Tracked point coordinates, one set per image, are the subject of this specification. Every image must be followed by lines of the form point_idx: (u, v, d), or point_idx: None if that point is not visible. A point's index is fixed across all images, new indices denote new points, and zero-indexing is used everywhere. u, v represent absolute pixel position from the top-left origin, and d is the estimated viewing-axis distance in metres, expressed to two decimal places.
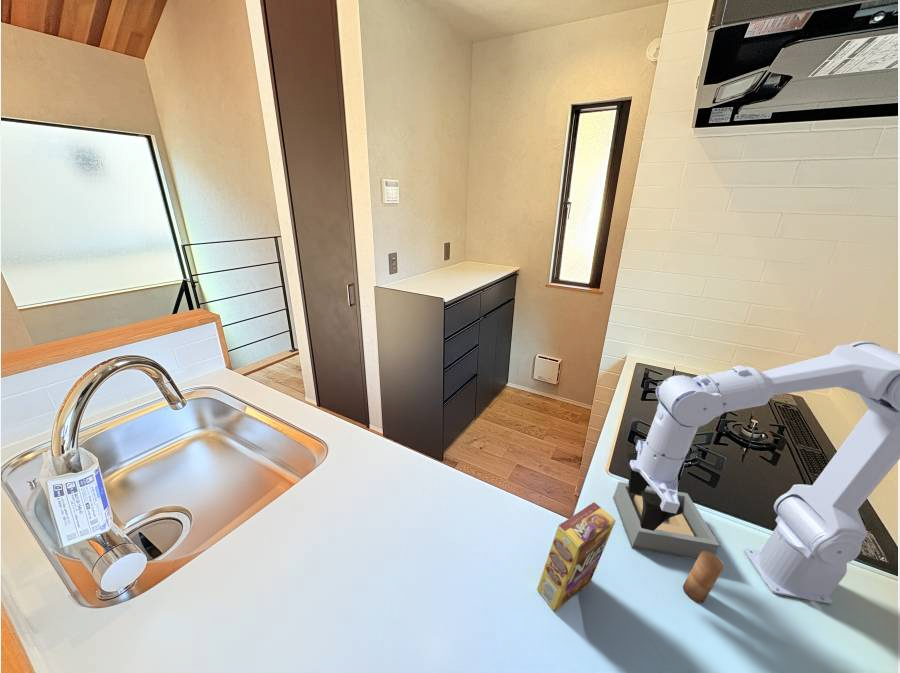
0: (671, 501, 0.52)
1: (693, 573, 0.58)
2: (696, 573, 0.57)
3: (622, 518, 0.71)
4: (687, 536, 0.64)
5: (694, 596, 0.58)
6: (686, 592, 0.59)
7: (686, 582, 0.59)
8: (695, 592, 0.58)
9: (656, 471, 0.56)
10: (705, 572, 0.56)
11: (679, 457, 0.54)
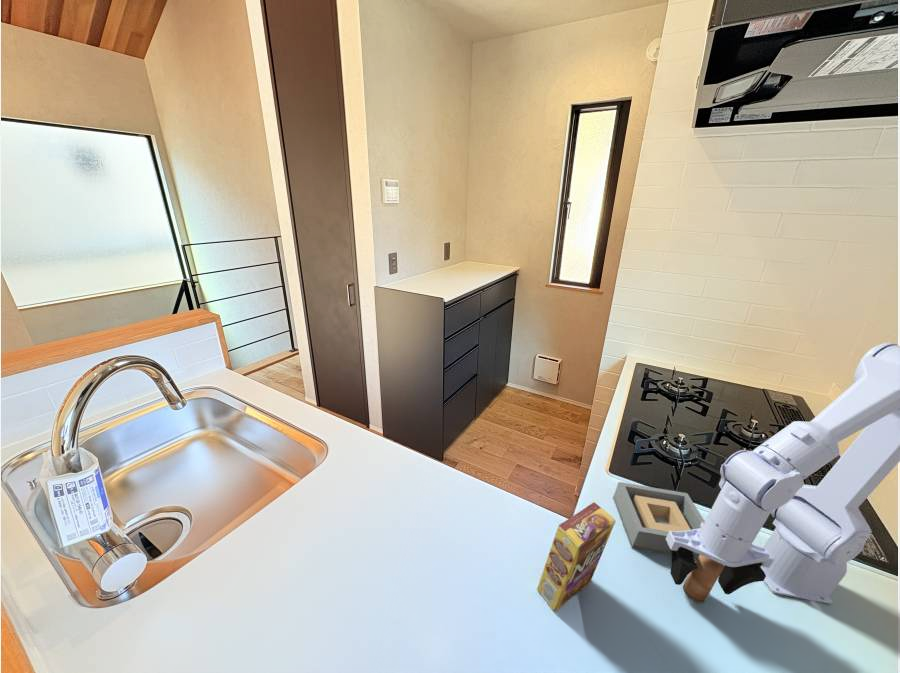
0: (673, 535, 0.56)
1: (693, 573, 0.58)
2: (696, 573, 0.57)
3: (622, 518, 0.71)
4: None
5: (694, 596, 0.58)
6: (686, 592, 0.59)
7: (686, 582, 0.59)
8: (695, 592, 0.58)
9: (702, 528, 0.56)
10: (705, 572, 0.56)
11: (754, 538, 0.51)
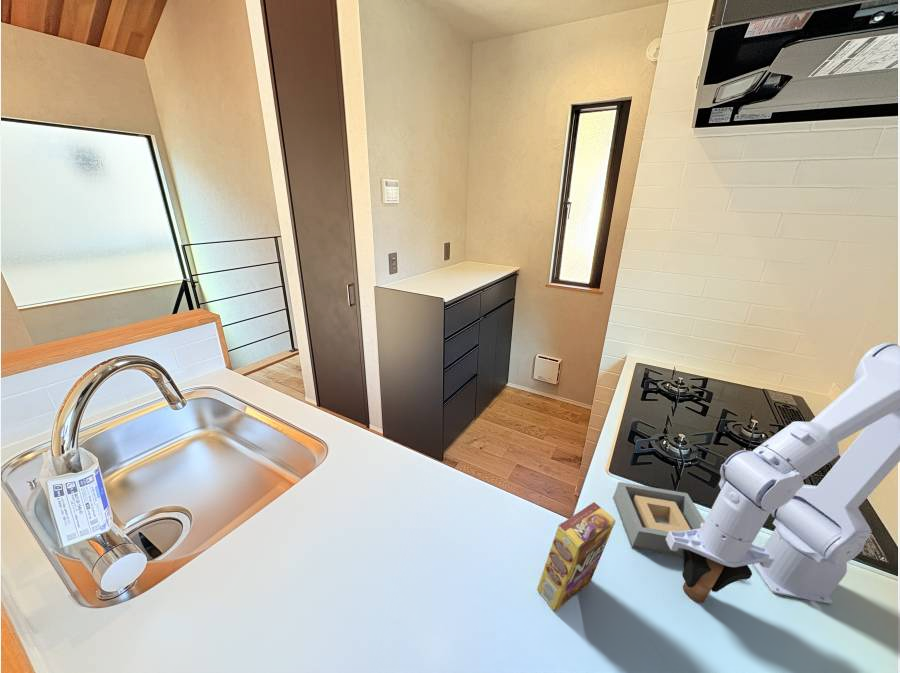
0: (673, 535, 0.56)
1: None
2: None
3: (622, 518, 0.71)
4: None
5: (694, 596, 0.58)
6: (686, 592, 0.59)
7: None
8: (695, 592, 0.58)
9: (702, 528, 0.56)
10: None
11: (754, 538, 0.51)
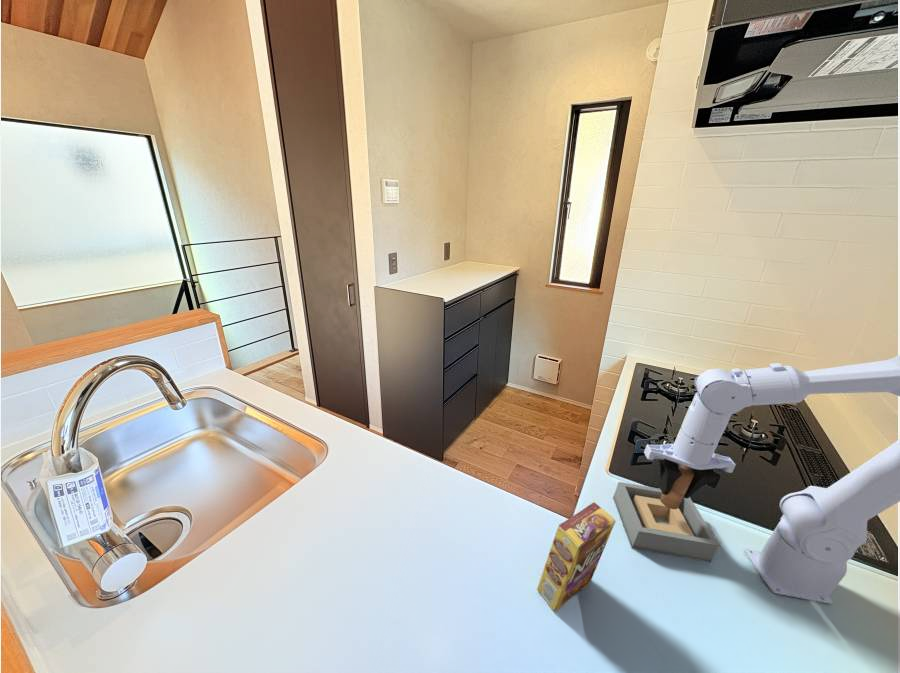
0: (650, 447, 0.64)
1: None
2: None
3: (622, 518, 0.71)
4: (687, 536, 0.64)
5: (669, 503, 0.67)
6: (662, 501, 0.68)
7: (662, 493, 0.68)
8: (670, 499, 0.66)
9: (675, 441, 0.65)
10: (678, 480, 0.65)
11: (708, 442, 0.59)
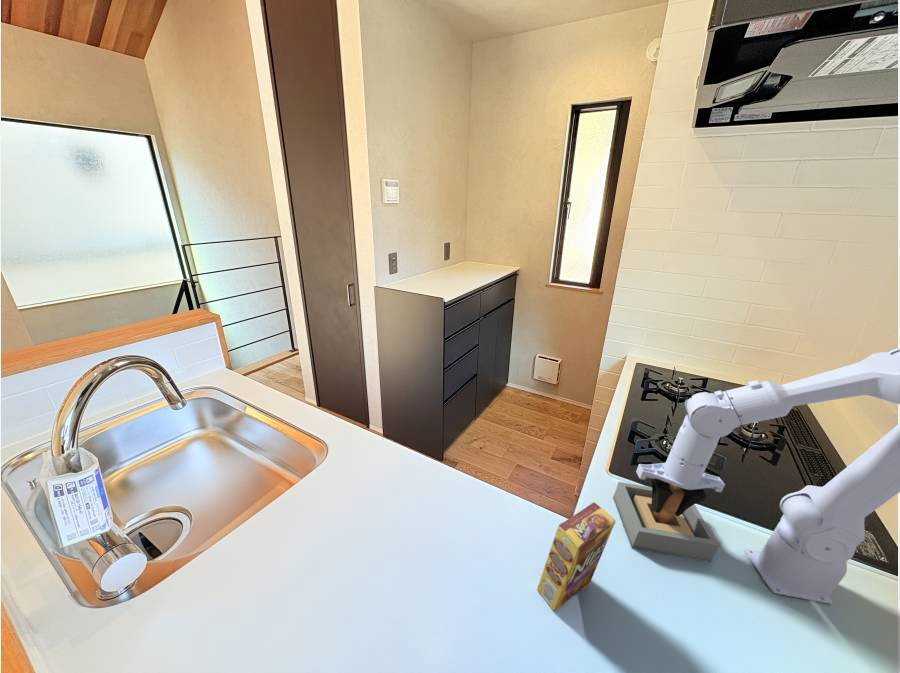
0: (641, 467, 0.66)
1: None
2: None
3: (622, 518, 0.71)
4: (687, 536, 0.64)
5: (660, 521, 0.69)
6: (654, 518, 0.70)
7: None
8: (661, 517, 0.68)
9: (666, 461, 0.67)
10: (669, 499, 0.66)
11: (697, 464, 0.61)
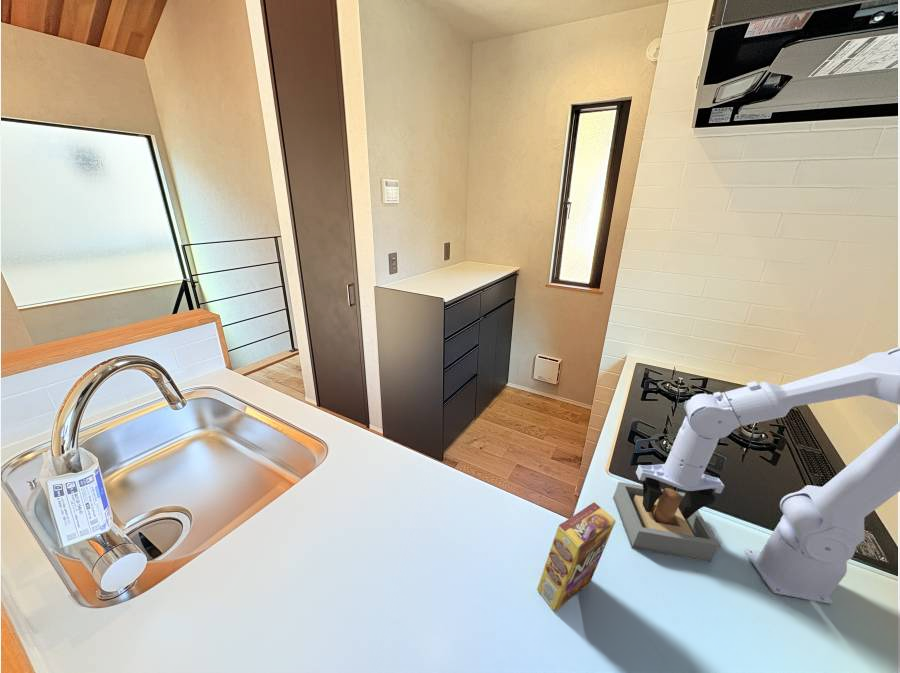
0: (641, 468, 0.67)
1: (657, 506, 0.69)
2: (660, 506, 0.68)
3: (622, 518, 0.71)
4: (687, 536, 0.64)
5: None
6: None
7: (652, 515, 0.70)
8: (659, 522, 0.69)
9: None
10: (666, 504, 0.67)
11: (697, 465, 0.61)
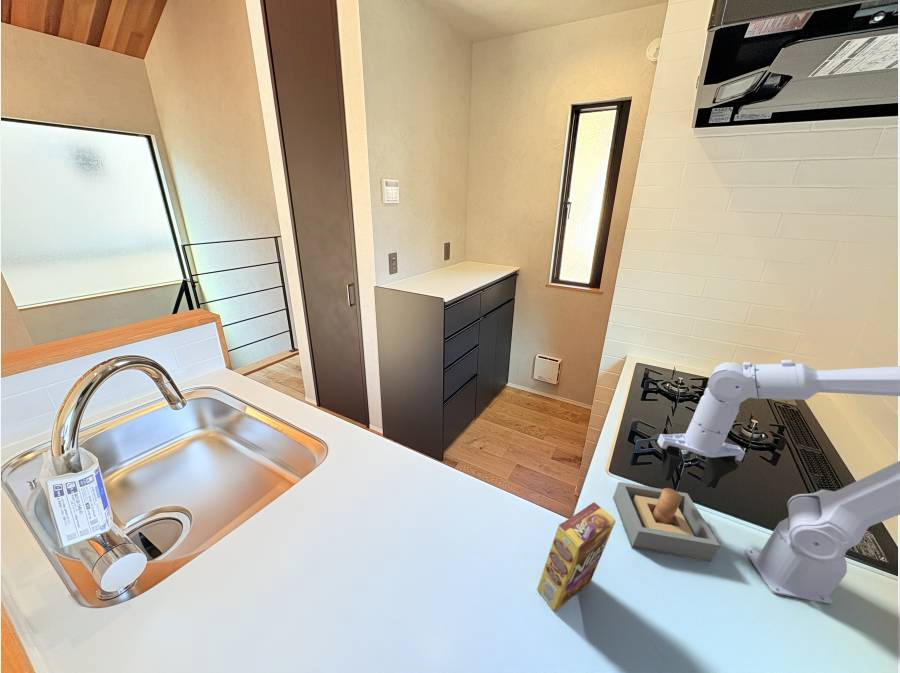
0: (663, 436, 0.68)
1: (657, 506, 0.69)
2: (660, 506, 0.68)
3: (622, 518, 0.71)
4: (687, 536, 0.64)
5: None
6: None
7: (652, 515, 0.70)
8: (659, 522, 0.69)
9: (687, 431, 0.68)
10: (666, 504, 0.67)
11: (714, 430, 0.63)
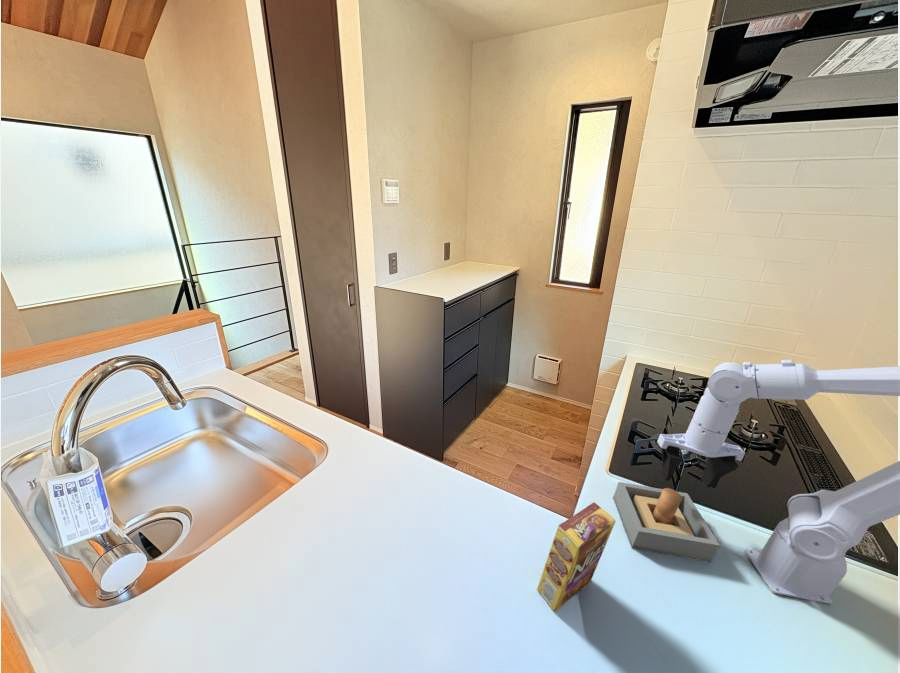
0: (663, 436, 0.68)
1: (657, 506, 0.69)
2: (660, 506, 0.68)
3: (622, 518, 0.71)
4: (687, 536, 0.64)
5: None
6: None
7: (652, 515, 0.70)
8: (659, 522, 0.69)
9: (687, 431, 0.68)
10: (666, 504, 0.67)
11: (714, 430, 0.63)
